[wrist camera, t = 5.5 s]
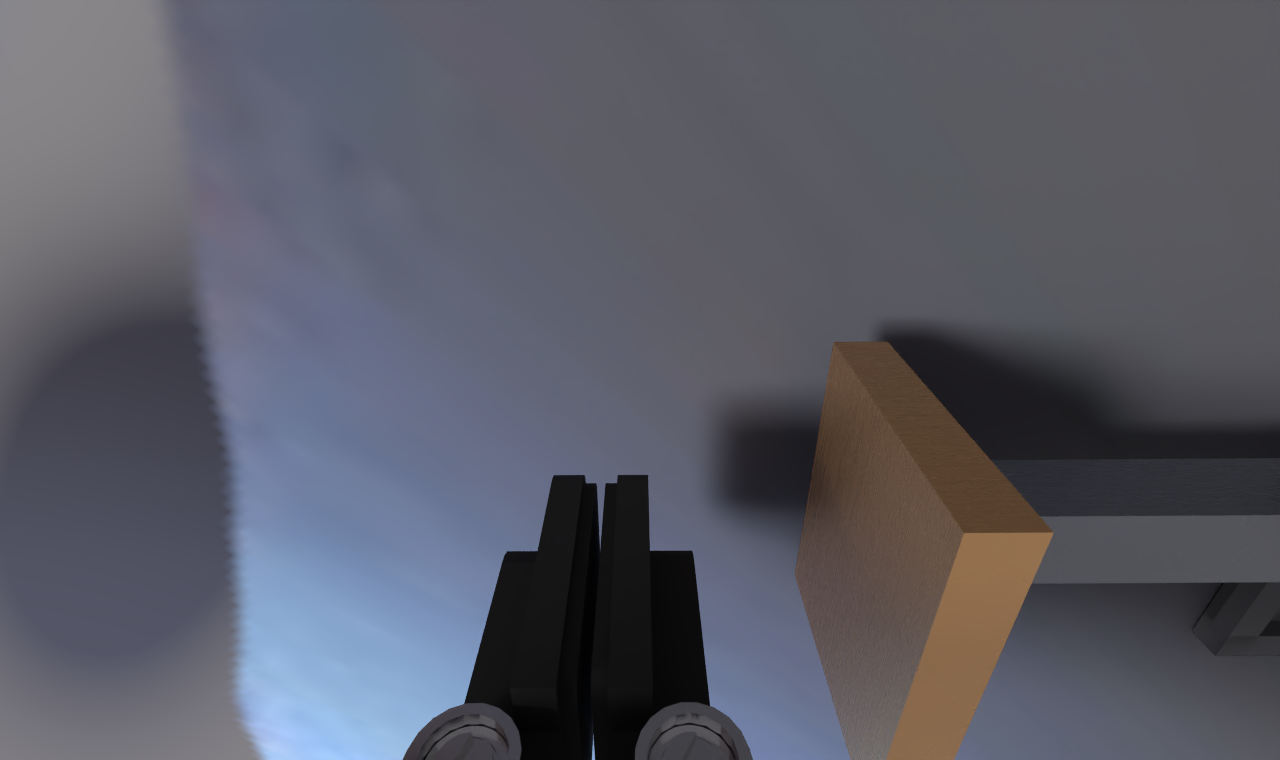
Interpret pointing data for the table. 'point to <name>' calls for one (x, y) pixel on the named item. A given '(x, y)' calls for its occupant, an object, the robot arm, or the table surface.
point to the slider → (982, 547)
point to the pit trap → (1242, 620)
